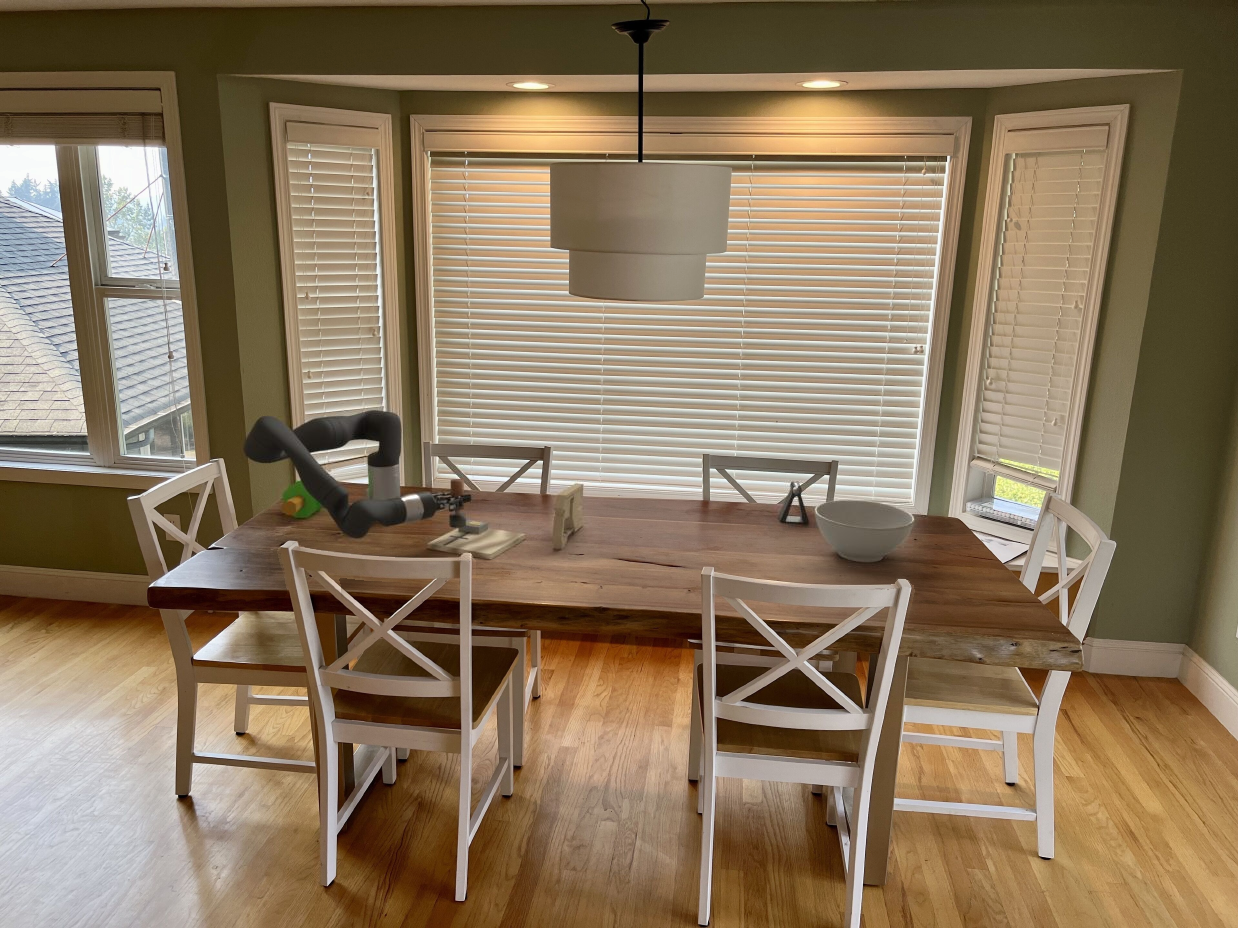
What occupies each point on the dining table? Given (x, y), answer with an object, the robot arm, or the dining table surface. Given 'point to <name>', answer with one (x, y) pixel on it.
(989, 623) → the dining table surface
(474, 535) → the subfloor panel
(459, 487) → the wooden handled stamp
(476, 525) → the block
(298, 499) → the decorative tree
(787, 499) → the phone stand
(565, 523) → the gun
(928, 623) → the dining table surface
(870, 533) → the decorative bowl
